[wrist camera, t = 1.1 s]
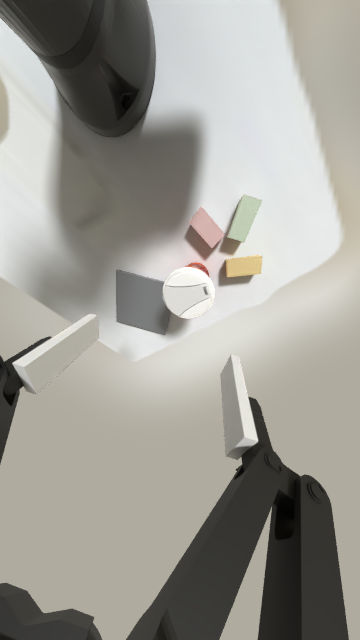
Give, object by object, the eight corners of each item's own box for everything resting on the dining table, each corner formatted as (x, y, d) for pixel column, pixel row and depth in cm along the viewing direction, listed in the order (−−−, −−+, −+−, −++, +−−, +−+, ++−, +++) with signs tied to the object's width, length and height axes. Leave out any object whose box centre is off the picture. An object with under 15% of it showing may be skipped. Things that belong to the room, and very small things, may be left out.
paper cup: (207, 251, 31) (204, 259, 18) (217, 286, 33) (221, 314, 21) (172, 265, 33) (150, 280, 21) (185, 297, 36) (171, 327, 24)
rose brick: (190, 223, 29) (188, 222, 26) (202, 209, 28) (201, 206, 25) (211, 247, 30) (211, 248, 28) (223, 234, 29) (225, 234, 26)
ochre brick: (225, 274, 32) (227, 277, 30) (225, 259, 31) (226, 261, 28) (256, 270, 31) (260, 273, 28) (257, 254, 30) (262, 256, 27)
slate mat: (118, 269, 36) (116, 270, 35) (175, 284, 35) (174, 285, 34) (118, 320, 43) (116, 321, 42) (165, 333, 42) (165, 334, 41)
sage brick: (240, 198, 26) (243, 194, 24) (257, 203, 26) (262, 200, 23) (226, 237, 29) (227, 237, 26) (241, 241, 29) (244, 242, 26)
